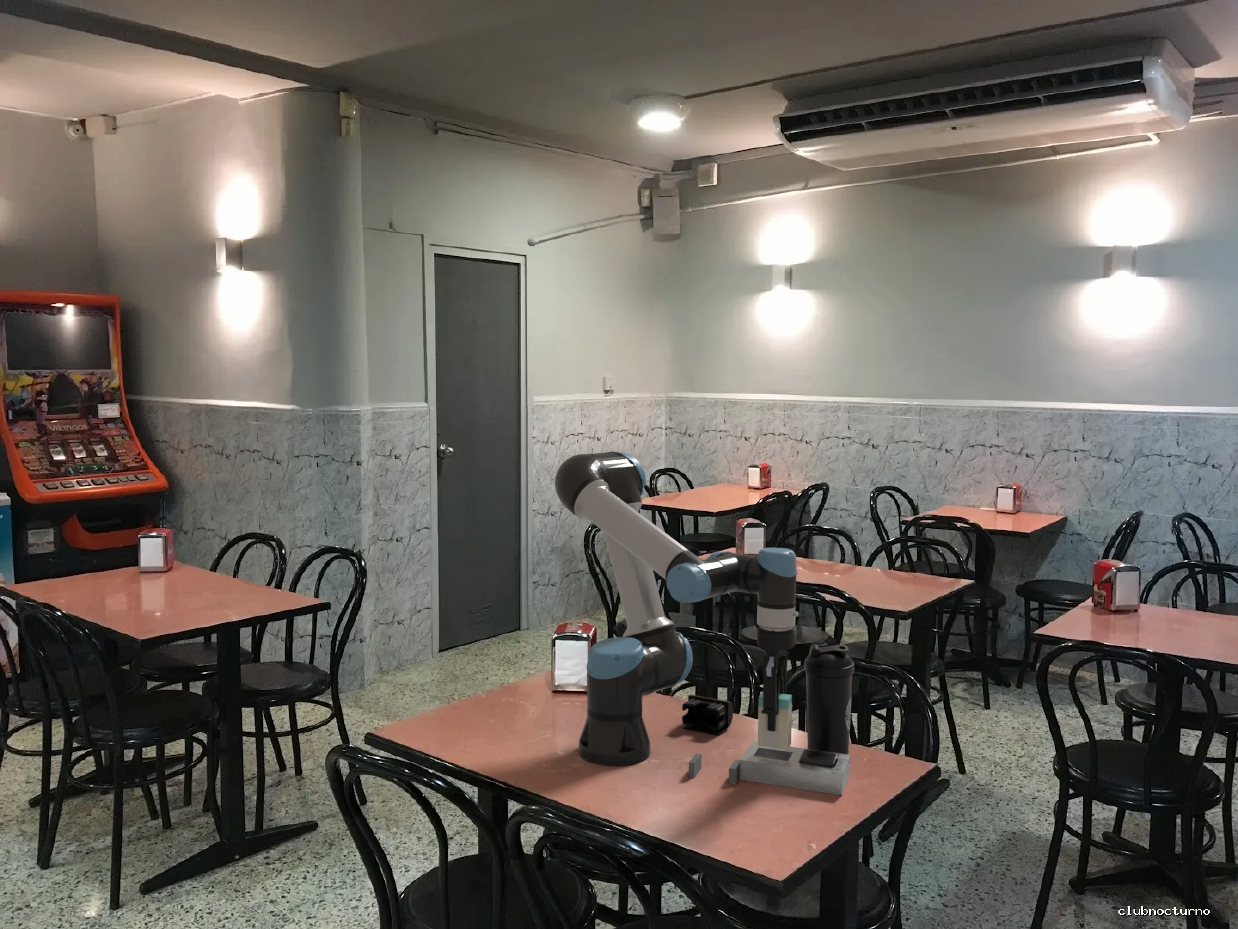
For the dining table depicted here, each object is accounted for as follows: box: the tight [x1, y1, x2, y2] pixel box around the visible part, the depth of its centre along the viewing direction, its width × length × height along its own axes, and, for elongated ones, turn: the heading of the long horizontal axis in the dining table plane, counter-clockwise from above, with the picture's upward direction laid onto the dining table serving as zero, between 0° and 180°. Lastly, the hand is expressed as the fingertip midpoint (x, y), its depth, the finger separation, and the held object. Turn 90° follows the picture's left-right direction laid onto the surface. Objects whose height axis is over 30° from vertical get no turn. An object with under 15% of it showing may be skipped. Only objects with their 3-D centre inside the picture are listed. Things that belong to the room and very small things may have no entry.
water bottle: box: [803, 643, 855, 755], centre depth 208 cm, size 10×10×23 cm
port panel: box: [738, 740, 852, 796], centre depth 196 cm, size 20×11×5 cm, turn 69°
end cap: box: [681, 694, 734, 737], centre depth 223 cm, size 10×7×7 cm
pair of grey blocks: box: [688, 752, 740, 785], centre depth 196 cm, size 9×5×3 cm, turn 69°
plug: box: [757, 691, 793, 750], centre depth 197 cm, size 6×4×10 cm, turn 69°
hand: (774, 741), depth 197 cm, fingers closed on plug, 3 cm apart
